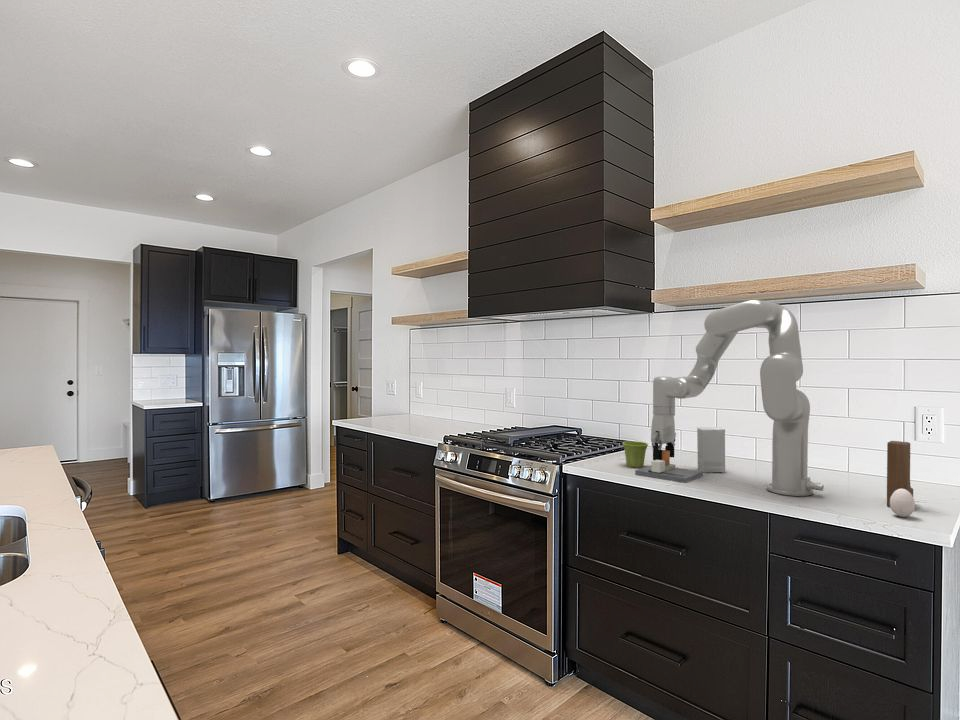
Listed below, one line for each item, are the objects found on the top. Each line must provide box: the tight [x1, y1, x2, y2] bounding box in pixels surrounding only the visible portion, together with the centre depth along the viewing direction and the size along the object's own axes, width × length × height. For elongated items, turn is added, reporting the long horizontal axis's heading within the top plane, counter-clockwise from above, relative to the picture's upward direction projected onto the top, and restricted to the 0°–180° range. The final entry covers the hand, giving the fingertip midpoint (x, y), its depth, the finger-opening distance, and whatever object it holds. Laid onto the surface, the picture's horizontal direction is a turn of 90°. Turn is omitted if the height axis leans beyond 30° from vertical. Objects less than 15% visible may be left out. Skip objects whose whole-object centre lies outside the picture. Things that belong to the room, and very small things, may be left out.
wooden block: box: [886, 440, 914, 508], centre depth 157 cm, size 9×4×18 cm, turn 133°
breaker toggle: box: [650, 460, 665, 473], centre depth 194 cm, size 3×4×4 cm
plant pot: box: [622, 440, 649, 468], centre depth 211 cm, size 9×9×9 cm
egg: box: [889, 489, 916, 518], centre depth 146 cm, size 5×5×7 cm
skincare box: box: [696, 426, 726, 474], centre depth 202 cm, size 8×7×16 cm
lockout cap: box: [661, 449, 671, 466], centre depth 202 cm, size 4×4×5 cm
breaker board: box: [634, 465, 704, 484], centre depth 196 cm, size 18×14×2 cm
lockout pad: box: [665, 463, 676, 470], centre depth 202 cm, size 6×6×1 cm
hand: (663, 458), depth 202 cm, fingers open, 9 cm apart
